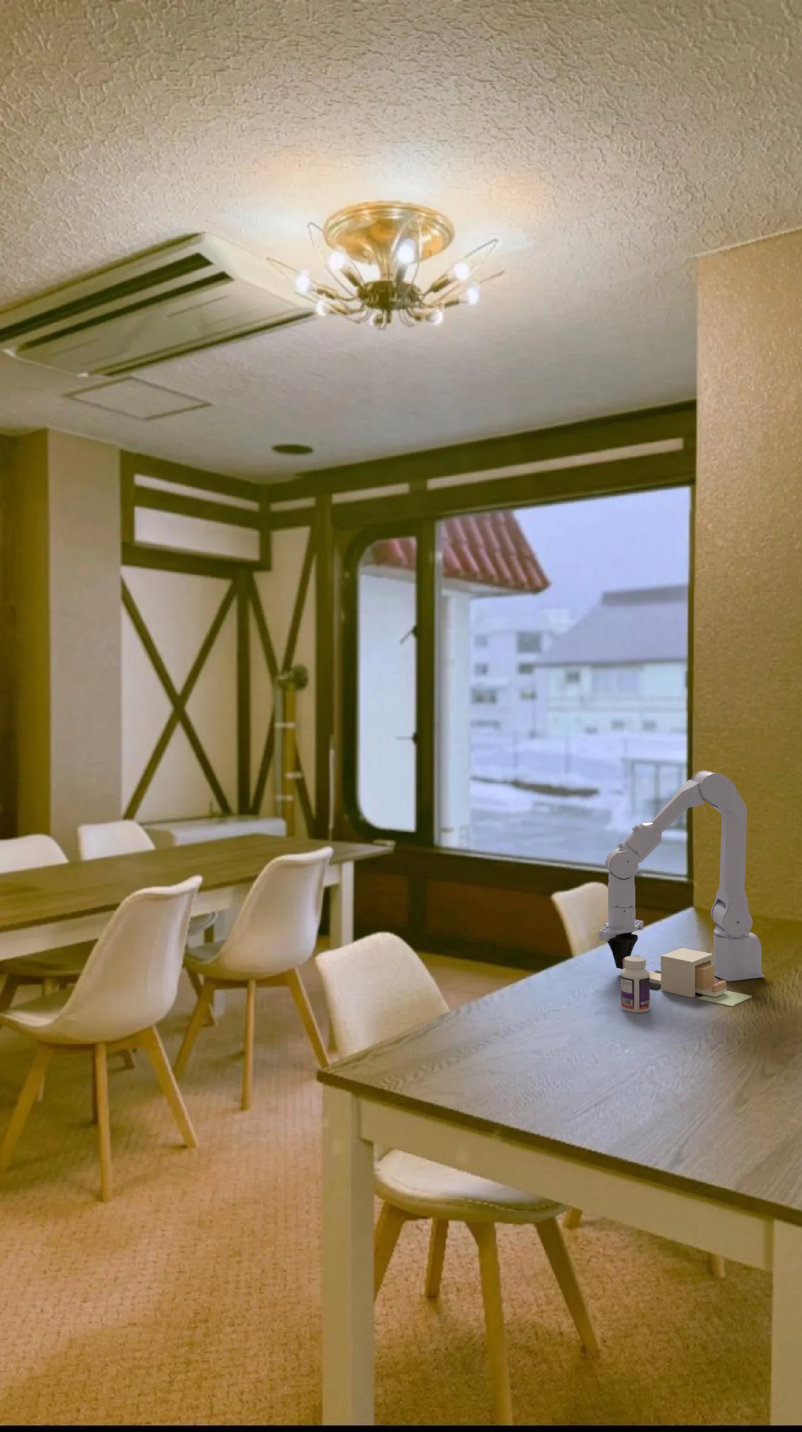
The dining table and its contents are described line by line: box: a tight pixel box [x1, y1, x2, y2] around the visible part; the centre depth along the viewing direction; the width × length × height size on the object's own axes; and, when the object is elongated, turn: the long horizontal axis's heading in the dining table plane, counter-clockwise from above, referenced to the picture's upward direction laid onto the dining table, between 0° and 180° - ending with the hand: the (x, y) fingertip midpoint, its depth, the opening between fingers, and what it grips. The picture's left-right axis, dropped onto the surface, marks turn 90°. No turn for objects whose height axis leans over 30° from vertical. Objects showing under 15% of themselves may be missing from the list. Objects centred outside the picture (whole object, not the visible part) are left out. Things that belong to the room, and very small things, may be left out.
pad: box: [698, 989, 753, 1008], centre depth 189 cm, size 9×7×1 cm
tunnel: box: [660, 947, 714, 998], centre depth 195 cm, size 9×7×7 cm
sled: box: [623, 954, 727, 997], centre depth 197 cm, size 5×21×5 cm, turn 45°
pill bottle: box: [620, 955, 651, 1014], centre depth 183 cm, size 5×5×10 cm
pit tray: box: [650, 969, 661, 990], centre depth 200 cm, size 9×5×1 cm, turn 135°
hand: (621, 968), depth 206 cm, fingers closed, pressing on sled
